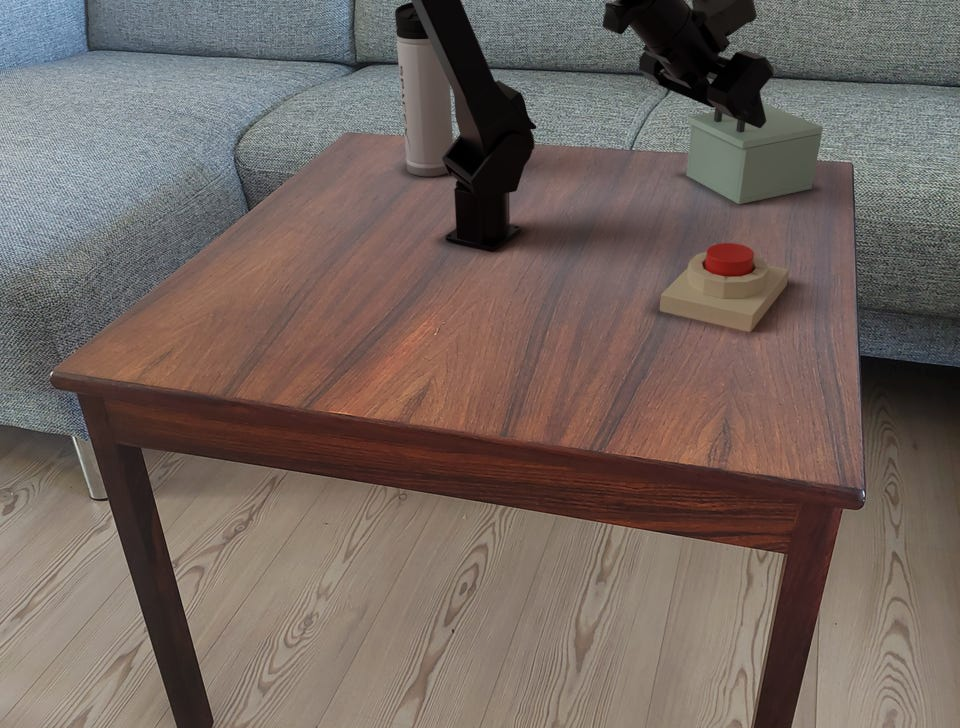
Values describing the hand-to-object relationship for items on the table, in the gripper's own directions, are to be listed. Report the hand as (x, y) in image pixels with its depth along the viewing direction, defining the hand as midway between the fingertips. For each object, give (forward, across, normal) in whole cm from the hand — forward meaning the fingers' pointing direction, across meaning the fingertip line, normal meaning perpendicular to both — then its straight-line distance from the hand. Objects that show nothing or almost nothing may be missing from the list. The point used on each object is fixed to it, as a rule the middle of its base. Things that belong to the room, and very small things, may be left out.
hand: (738, 114), depth 110 cm
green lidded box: (+8, 0, +4) cm, 9 cm away
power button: (-9, -25, +17) cm, 31 cm away
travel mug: (-16, +24, +28) cm, 40 cm away
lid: (+3, 0, 0) cm, 3 cm away
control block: (-7, -25, +19) cm, 32 cm away
